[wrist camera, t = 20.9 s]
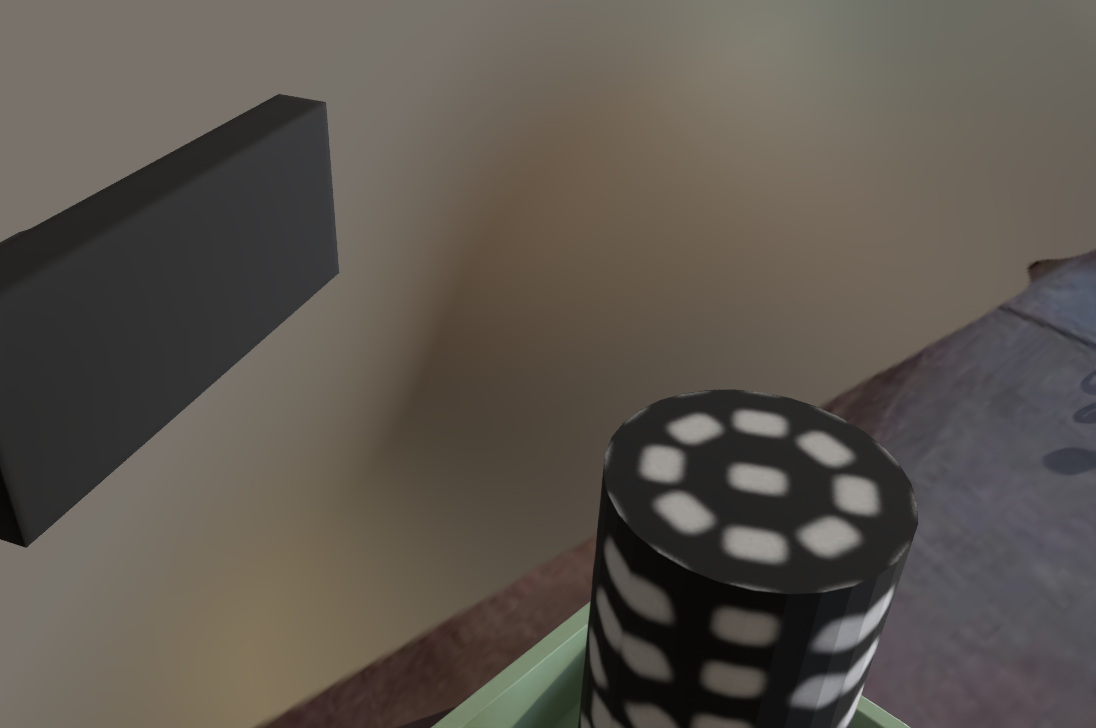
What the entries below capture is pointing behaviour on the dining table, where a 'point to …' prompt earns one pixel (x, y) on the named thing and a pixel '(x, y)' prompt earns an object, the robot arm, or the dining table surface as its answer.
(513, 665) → the bin
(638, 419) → the white-spotted black cylinder
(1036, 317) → the dining table surface
